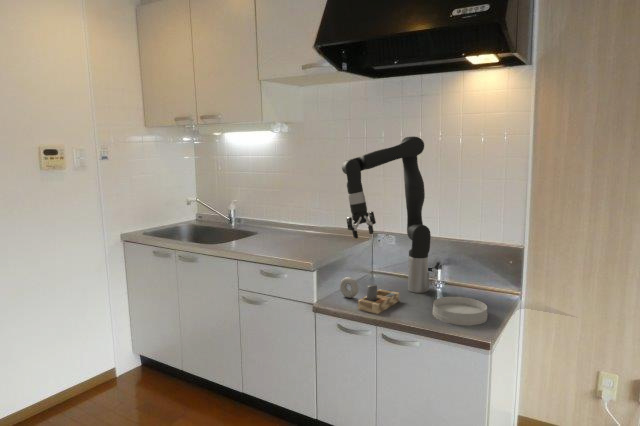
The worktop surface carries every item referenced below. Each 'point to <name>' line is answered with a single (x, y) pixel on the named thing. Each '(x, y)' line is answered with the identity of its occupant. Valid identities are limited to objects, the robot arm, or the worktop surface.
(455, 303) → the dish
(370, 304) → the socket board
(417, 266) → the robot arm
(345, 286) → the donut
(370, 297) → the plug
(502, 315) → the worktop surface
